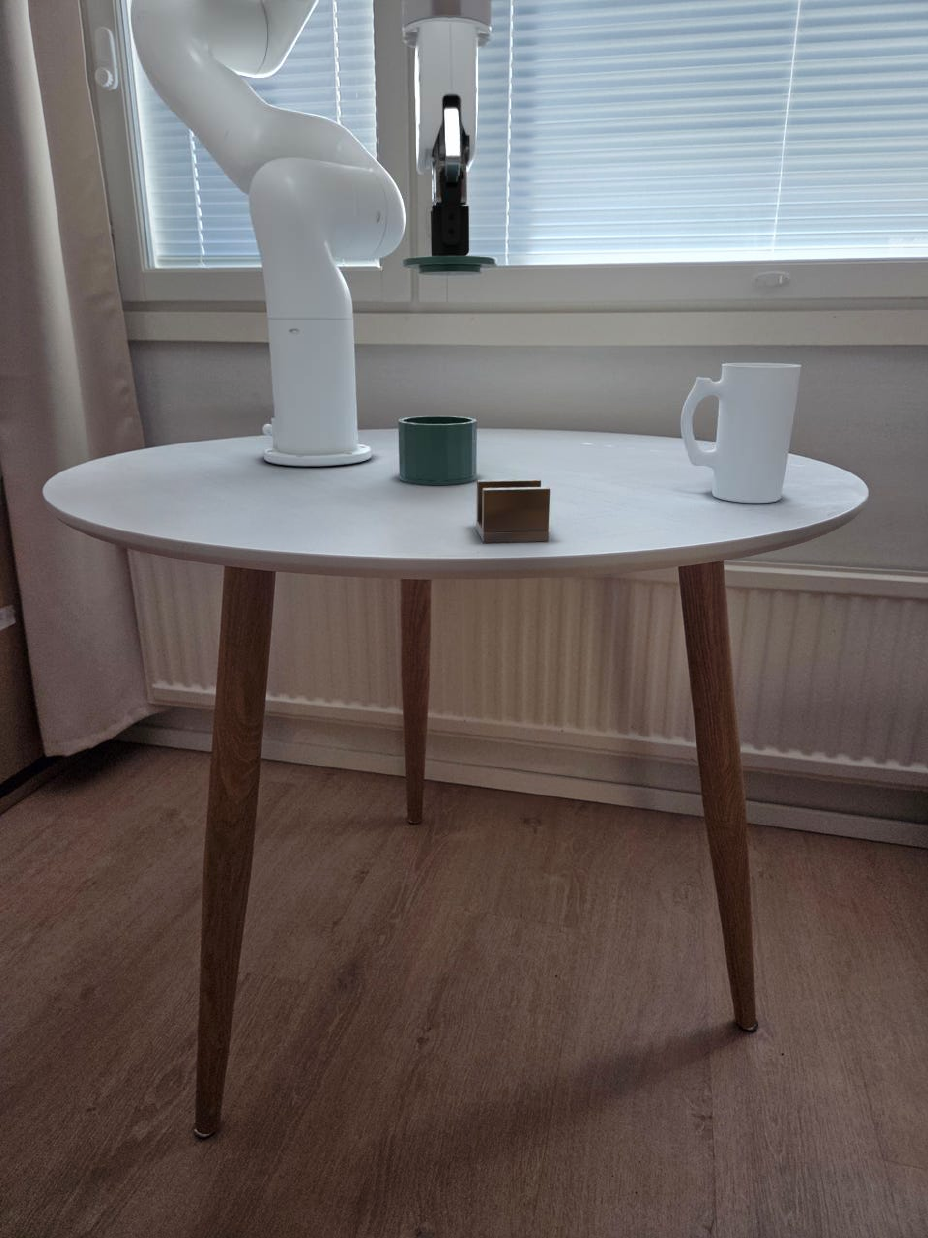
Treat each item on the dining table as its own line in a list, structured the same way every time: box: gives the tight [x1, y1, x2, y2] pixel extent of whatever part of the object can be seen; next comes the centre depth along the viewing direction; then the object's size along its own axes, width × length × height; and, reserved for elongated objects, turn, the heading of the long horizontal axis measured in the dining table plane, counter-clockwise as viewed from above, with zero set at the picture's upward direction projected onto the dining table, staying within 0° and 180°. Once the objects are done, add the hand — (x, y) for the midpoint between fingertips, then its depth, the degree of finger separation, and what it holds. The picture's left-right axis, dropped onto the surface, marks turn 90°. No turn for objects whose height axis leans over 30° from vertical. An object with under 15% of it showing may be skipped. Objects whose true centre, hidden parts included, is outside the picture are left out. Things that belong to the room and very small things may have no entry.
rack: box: [475, 478, 551, 544], centre depth 65 cm, size 5×4×4 cm
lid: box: [402, 205, 498, 276], centre depth 76 cm, size 9×9×7 cm
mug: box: [680, 362, 802, 504], centre depth 78 cm, size 10×7×12 cm, turn 84°
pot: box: [397, 415, 478, 486], centre depth 88 cm, size 8×8×6 cm
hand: (449, 254), depth 77 cm, fingers closed on lid, 2 cm apart
